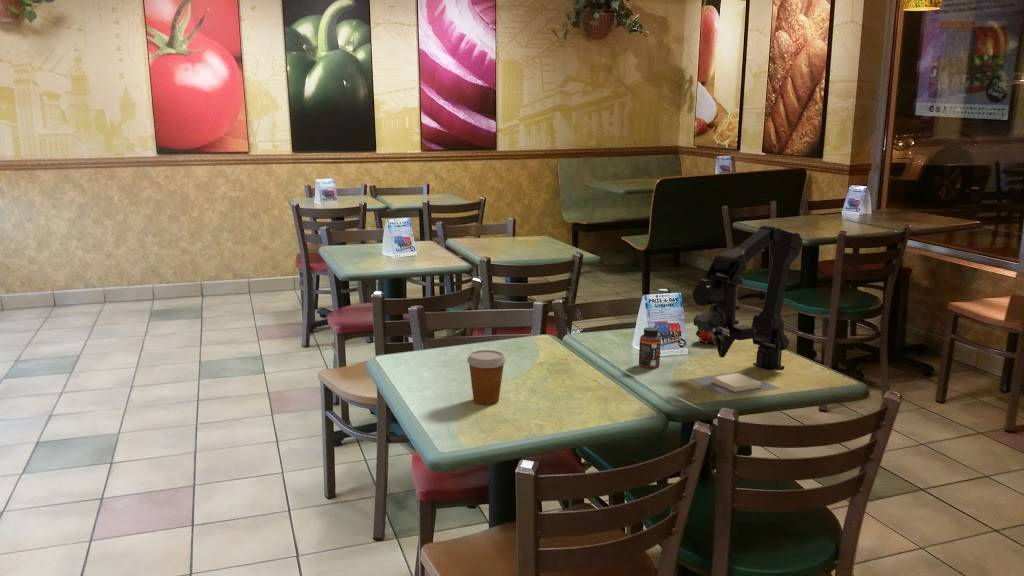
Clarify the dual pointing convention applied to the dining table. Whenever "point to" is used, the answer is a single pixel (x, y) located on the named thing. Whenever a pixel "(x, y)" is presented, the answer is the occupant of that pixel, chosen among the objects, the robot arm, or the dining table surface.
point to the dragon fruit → (705, 336)
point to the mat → (726, 392)
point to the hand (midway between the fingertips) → (721, 357)
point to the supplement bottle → (649, 348)
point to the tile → (736, 382)
